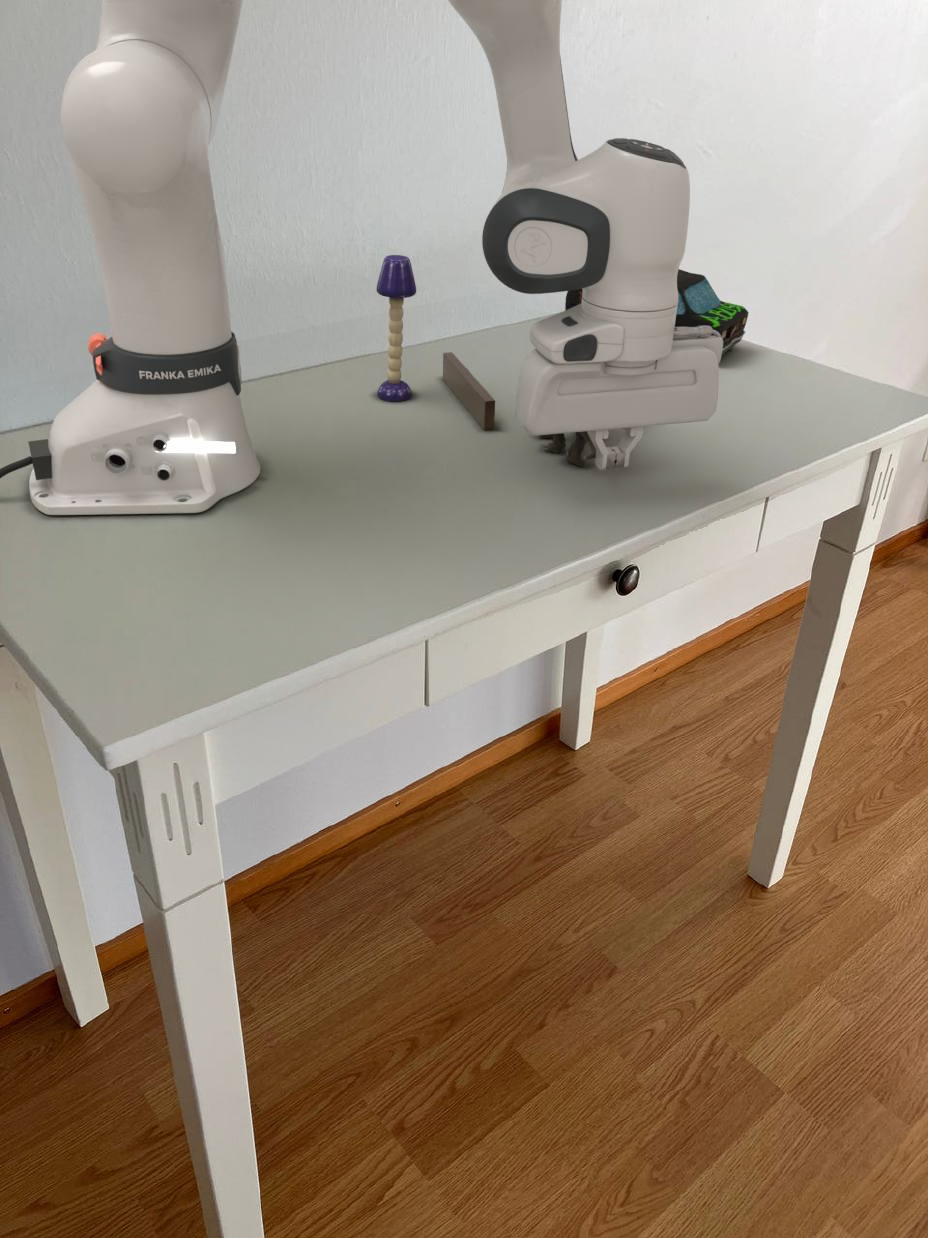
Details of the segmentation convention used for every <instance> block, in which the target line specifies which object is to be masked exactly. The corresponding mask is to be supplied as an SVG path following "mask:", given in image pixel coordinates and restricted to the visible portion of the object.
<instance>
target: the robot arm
mask: <svg viewBox="0 0 928 1238" xmlns="http://www.w3.org/2000/svg"><path fill="white" fill-rule="evenodd" d="M243 2H244V0H102V1H101V11H100V23H99V31H98V38H97V43H96V47H95V50H93V51H92V52H90V53H88V54H87V55H85V56H84V57H83V58H82V59H81V60H80V61H79V62H78V63H77V64H76V65H75V66H74V67H73V69H72V71H71V72H70V74H69V75H68V78H67V80H66V83H65V85H64V89H63V92H62V97H61V103H60V125H61V131H62V136H63V140H64V143H65V145H66V148H67V150H68V152H69V154H70V156H71V161H72V165H73V169H74V174H75V177H76V181H77V185H78V189H79V192H80V196H81V200H82V202H83V206H84V209H85V212H86V216H87V219H88V223H89V225H90V228H91V232H92V235H93V239H94V241H95V242H94V243H95V245H96V250H97V253H98V254H97V255H98V258H99V265H100V269H101V275H102V282H103V288H104V295H105V300H106V306H107V307H106V308H107V313H108V319H109V325H110V331H111V337H109V338H108V337H106V335H105V334H103V333H94V334H92V335H91V336H90V338H89V339H88V346H87V347H88V353H89V354H90V355H91V357H92V363H93V370H94V375H95V378H96V379H95V380H94V381H93V382H92V383H91V384H90V385H89V386H88V387H87V388H85V389H84V390H83V391H82V392H81V393H80V394H79V395H77V396H76V397H75V398H73V400H72V401H71V402H69V403H67V405H66V406H64V407H63V408H62V409H61V410H60V411H59V412H58V413H57V415H56V416H55V418H54V420H53V421H52V424H51V427H50V429H49V434H48V438H46V439H36V440H29V441H28V448H29V452H30V455H29V456H26V457H25V458H23V459H20V460H17V461H14V462H12V463H10V464H9V463H8V464H7V465H5V466H3V467H0V479H2V478H3V477H6V475H8V474H10V473H12V472H14V471H17V470H20V469H23V468H26V467H28V466H30V465H32V467H33V468H32V470H31V472H30V475H29V479H28V480H29V481H28V489H29V496H30V498H29V499H30V500H31V503H32V504H33V507H35V508H36V509H37V511H40V512H41V513H42V514H45V515H48V516H85V515H86V516H89V515H147V514H148V515H149V514H153V515H154V514H198V513H202V512H204V511H207V510H208V509H210V508H212V507H213V506H214V505H215V504H216V503H217V502H218V501H220V500H221V499H223V498H226V497H229V496H231V495H233V494H235V493H238V492H240V491H242V490H244V489H246V488H248V487H249V486H250V485H252V484H253V483H254V482H255V481H256V480H257V479H258V477H259V475H260V473H261V464H260V462H259V460H258V457H257V456H256V452H255V450H254V447H253V444H252V440H251V438H250V434H249V431H248V427H247V424H246V420H245V415H244V411H243V406H242V401H241V395H240V393H241V391H242V384H243V381H242V380H243V379H242V378H243V377H242V366H241V355H240V348H239V347H240V346H239V344H238V340H237V337H236V334H235V332H233V331H232V325H231V324H232V323H231V312H230V303H229V292H228V291H229V289H228V280H227V268H226V258H225V249H224V246H223V242H222V238H221V231H220V226H219V220H218V215H217V209H216V203H215V196H214V189H213V183H212V176H211V168H210V161H209V146H210V145H211V142H212V140H213V138H214V136H215V132H216V129H217V124H218V120H219V117H220V116H219V115H220V111H221V107H222V102H223V98H224V93H225V88H226V84H227V79H228V75H229V71H230V65H231V62H232V61H231V60H232V57H233V51H234V46H235V42H236V36H237V33H238V28H239V22H240V17H241V12H242V7H243ZM448 2H449V4H450V5H451V6H452V8H453V9H454V10H455V11H456V13H457V14H458V15H459V16H460V17H461V19H462V20H463V21H464V22H465V23H466V25H467V26H468V27H469V29H470V30H471V31H472V33H473V34H474V36H475V37H476V39H477V40H478V42H479V44H480V46H481V47H482V50H483V52H484V54H485V56H486V59H487V62H488V64H489V68H490V71H491V74H492V79H493V84H494V90H495V96H496V101H497V107H498V112H499V120H500V124H501V125H500V126H501V130H502V137H503V142H504V148H505V149H504V150H505V155H506V172H505V179H504V184H503V188H502V191H501V194H500V195H499V197H498V198H497V200H496V201H495V203H494V204H493V205H492V208H491V209H490V211H489V213H488V214H487V217H486V218H485V222H484V225H483V229H482V235H481V236H482V237H481V245H482V252H483V256H484V260H485V262H486V264H487V266H488V268H489V270H490V271H491V272H492V274H493V275H494V276H495V278H496V279H497V280H498V281H499V282H500V283H502V284H503V285H504V286H506V287H507V288H509V289H511V290H513V291H515V292H518V293H522V294H526V295H542V294H543V295H544V294H554V293H555V294H556V293H563V292H568V291H571V290H577V289H583V293H582V303H581V304H579V305H577V306H575V307H573V308H570V309H568V310H566V311H565V310H564V311H561V312H559V313H556V314H553V315H551V316H548V317H546V318H543V319H541V320H538V321H536V322H534V323H533V324H532V325H531V326H530V329H529V341H530V343H531V345H533V347H534V348H535V349H533V350H531V351H530V352H529V353H528V354H527V355H526V357H525V358H524V360H523V363H522V365H521V369H520V373H519V374H520V375H519V380H518V385H517V392H516V400H515V417H516V420H517V422H518V424H520V426H521V427H522V428H523V429H524V430H525V431H526V432H527V434H529V435H531V436H534V437H536V436H537V437H539V436H538V435H549V434H560V433H564V434H571V433H576V432H583V431H587V433H588V435H589V437H590V439H591V441H592V443H593V445H594V447H595V448H596V456H595V458H594V465H595V466H596V467H597V468H598V470H600V471H604V470H612V469H623V468H628V467H629V463H630V458H631V457H630V456H631V453H632V452H633V450H634V449H635V447H636V446H637V445H638V443H639V442H640V441H641V439H642V438H643V436H644V430H645V427H651V426H665V425H675V424H686V423H698V422H699V423H700V422H707V421H709V420H710V419H711V418H712V417H713V415H714V414H715V413H716V411H717V407H718V400H719V389H720V388H719V387H720V386H719V385H720V382H719V381H720V370H719V369H720V367H719V365H720V362H721V360H722V355H723V354H722V349H723V339H722V337H721V335H720V334H719V332H717V331H716V330H713V329H712V327H711V326H706V325H702V326H697V327H675V320H676V313H677V306H678V290H677V273H678V269H680V265H681V263H682V261H683V259H684V256H685V252H686V245H687V237H688V229H689V221H690V220H689V219H690V208H691V207H690V205H691V204H690V203H691V180H690V174H689V171H688V168H687V166H686V165H685V162H684V161H683V160H682V159H681V158H680V157H679V155H677V154H676V153H675V152H673V150H671V149H668V148H665V147H663V146H661V145H659V144H656V143H652V142H648V141H645V140H641V139H640V140H639V139H636V138H635V139H634V138H625V137H620V138H619V137H617V138H615V137H614V138H611V139H608V140H606V141H605V142H604V143H603V144H602V145H601V146H599V147H598V148H597V149H595V150H594V151H592V152H590V153H589V154H587V155H585V156H583V157H581V158H578V156H577V154H576V153H575V149H574V146H573V145H574V144H573V140H572V135H571V128H570V121H569V112H568V105H567V98H566V90H565V81H564V74H563V67H562V58H561V45H560V43H561V40H560V39H561V37H560V36H561V17H562V6H563V0H448ZM712 334H714V335H715V336H711V335H712ZM617 429H622V430H623V431H624V433H623V435H622V436H621V439H620V440H619V442H618V443H617V445H615V446H606V444H605V442H604V440H608V438H609V434H610V430H617Z"/></svg>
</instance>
